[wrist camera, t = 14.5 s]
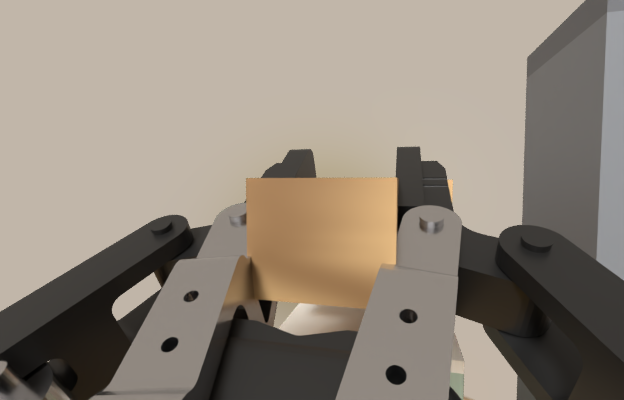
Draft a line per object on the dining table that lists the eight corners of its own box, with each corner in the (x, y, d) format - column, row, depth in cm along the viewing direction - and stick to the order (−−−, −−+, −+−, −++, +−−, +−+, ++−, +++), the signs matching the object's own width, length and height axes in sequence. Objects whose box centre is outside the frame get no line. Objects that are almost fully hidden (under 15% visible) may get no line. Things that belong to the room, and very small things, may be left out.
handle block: (434, 265, 21) (435, 180, 20) (510, 461, 6) (519, 176, 6) (319, 258, 22) (319, 180, 22) (167, 399, 8) (161, 178, 8)
